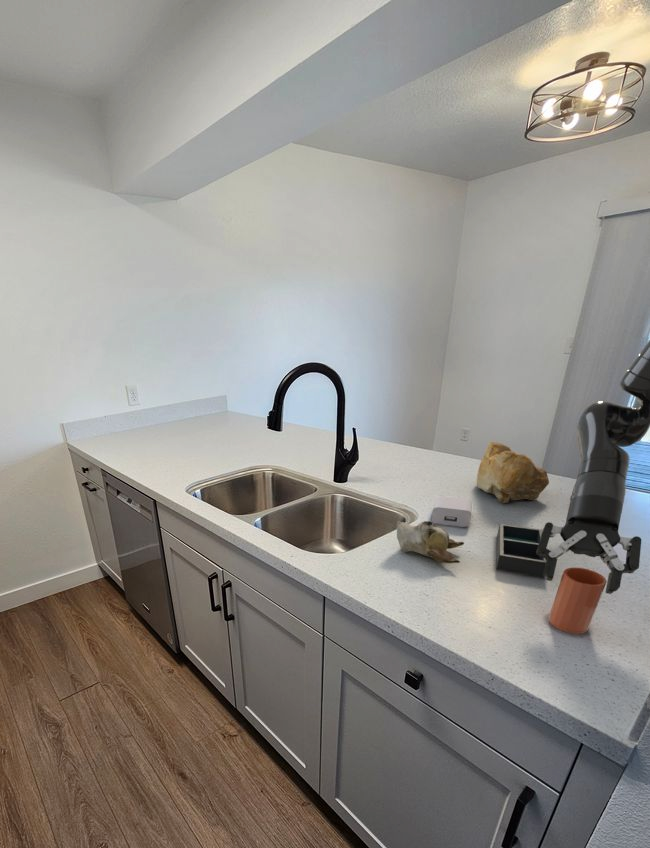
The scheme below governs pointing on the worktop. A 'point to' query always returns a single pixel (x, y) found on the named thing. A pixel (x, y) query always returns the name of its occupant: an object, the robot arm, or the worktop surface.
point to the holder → (519, 550)
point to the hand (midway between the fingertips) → (578, 586)
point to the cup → (576, 600)
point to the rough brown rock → (510, 475)
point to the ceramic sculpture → (427, 541)
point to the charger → (452, 511)
